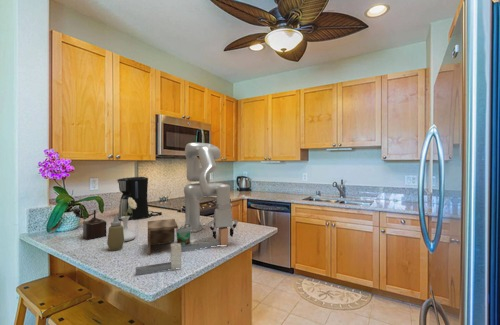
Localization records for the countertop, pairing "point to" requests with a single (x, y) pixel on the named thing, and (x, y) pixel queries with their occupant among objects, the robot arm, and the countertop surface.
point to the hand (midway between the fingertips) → (223, 237)
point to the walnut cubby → (161, 232)
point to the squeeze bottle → (115, 235)
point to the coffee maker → (134, 197)
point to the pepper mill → (92, 226)
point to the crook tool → (221, 241)
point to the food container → (184, 234)
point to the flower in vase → (127, 233)
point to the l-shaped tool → (164, 266)
